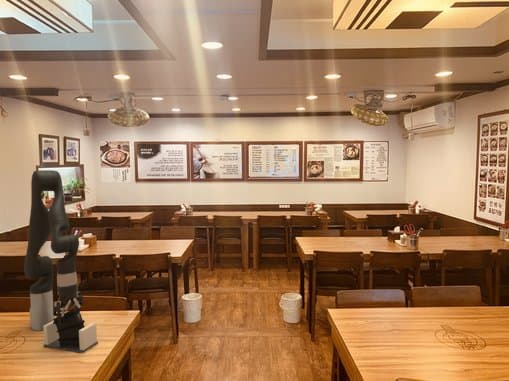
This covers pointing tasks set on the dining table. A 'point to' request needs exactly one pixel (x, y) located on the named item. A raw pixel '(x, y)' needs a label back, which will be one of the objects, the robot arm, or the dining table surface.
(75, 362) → the dining table surface
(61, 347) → the rail plate
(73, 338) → the magazine
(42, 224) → the robot arm
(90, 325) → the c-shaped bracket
